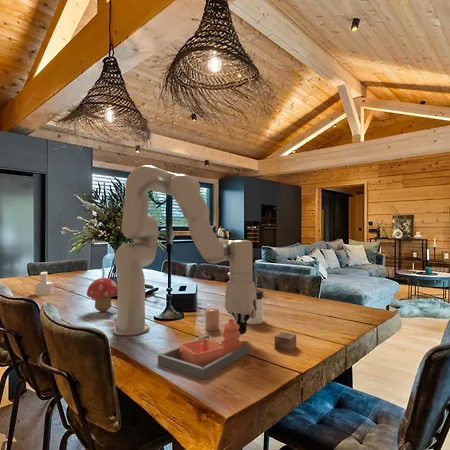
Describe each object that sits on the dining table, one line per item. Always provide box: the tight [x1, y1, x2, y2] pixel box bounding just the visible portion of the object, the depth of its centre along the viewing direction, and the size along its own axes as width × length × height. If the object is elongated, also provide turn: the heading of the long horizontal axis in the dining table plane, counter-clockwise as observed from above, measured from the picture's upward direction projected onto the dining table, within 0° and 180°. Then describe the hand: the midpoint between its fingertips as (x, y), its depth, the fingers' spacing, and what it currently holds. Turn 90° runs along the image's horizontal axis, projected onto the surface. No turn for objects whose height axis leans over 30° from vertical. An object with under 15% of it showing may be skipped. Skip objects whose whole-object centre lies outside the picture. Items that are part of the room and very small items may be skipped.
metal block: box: [274, 331, 297, 353], centre depth 101 cm, size 5×5×4 cm
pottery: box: [179, 318, 243, 367], centre depth 95 cm, size 18×10×10 cm, turn 124°
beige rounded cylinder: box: [204, 307, 220, 332], centre depth 120 cm, size 5×5×7 cm
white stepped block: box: [34, 271, 54, 296], centre depth 187 cm, size 9×9×12 cm
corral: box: [157, 334, 250, 381], centre depth 93 cm, size 16×21×2 cm
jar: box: [247, 288, 264, 325], centre depth 130 cm, size 9×8×12 cm
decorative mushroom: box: [86, 277, 118, 313], centre depth 146 cm, size 13×13×15 cm
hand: (241, 333), depth 108 cm, fingers closed
